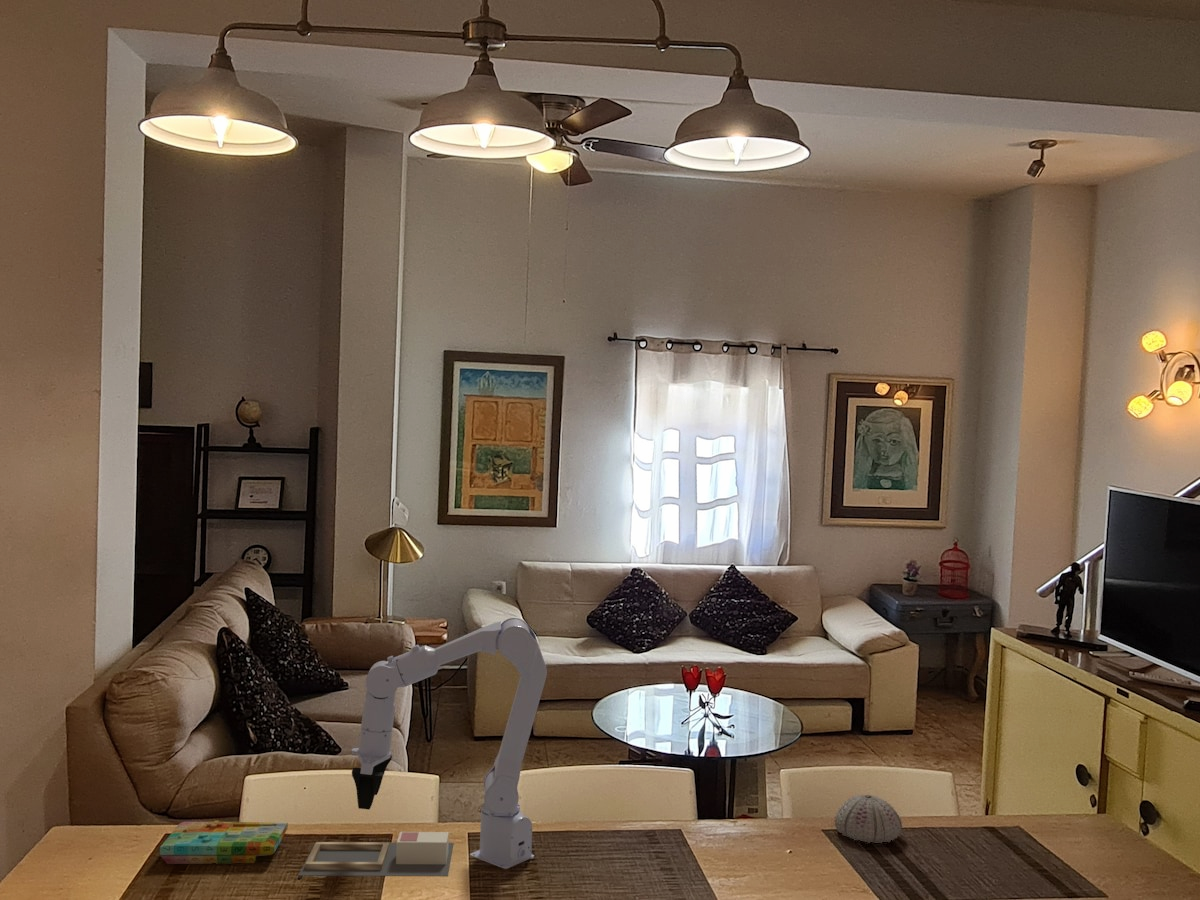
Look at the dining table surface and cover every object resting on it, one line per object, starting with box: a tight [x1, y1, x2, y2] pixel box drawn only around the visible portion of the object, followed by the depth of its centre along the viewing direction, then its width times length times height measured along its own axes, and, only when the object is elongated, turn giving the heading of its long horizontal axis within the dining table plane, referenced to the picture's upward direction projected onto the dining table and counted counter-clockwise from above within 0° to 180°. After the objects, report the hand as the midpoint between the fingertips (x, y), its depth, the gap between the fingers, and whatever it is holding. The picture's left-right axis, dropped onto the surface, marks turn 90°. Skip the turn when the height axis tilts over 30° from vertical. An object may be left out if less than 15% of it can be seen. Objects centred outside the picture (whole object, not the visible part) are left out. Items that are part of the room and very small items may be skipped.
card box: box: [396, 831, 450, 864], centre depth 194 cm, size 9×5×4 cm, turn 94°
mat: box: [298, 841, 455, 879], centre depth 193 cm, size 26×15×1 cm, turn 94°
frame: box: [304, 841, 389, 870], centre depth 193 cm, size 14×10×1 cm
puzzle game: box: [158, 820, 289, 865], centre depth 195 cm, size 12×5×20 cm
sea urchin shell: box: [834, 794, 903, 844], centre depth 214 cm, size 13×14×8 cm
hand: (368, 801), depth 194 cm, fingers open, 7 cm apart
